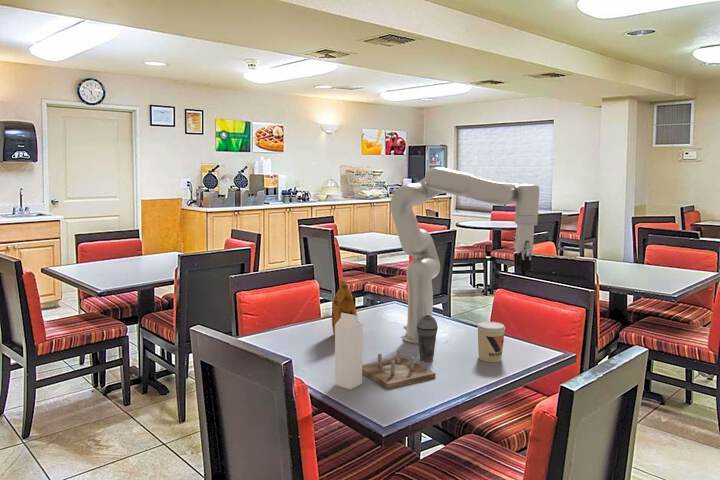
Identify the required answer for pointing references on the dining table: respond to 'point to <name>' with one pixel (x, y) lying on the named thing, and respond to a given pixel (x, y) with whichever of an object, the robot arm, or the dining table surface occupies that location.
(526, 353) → the dining table surface
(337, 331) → the milk
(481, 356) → the coffee cup
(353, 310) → the coffee package
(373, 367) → the cup stand
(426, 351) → the beverage cup
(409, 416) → the dining table surface
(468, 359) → the dining table surface
